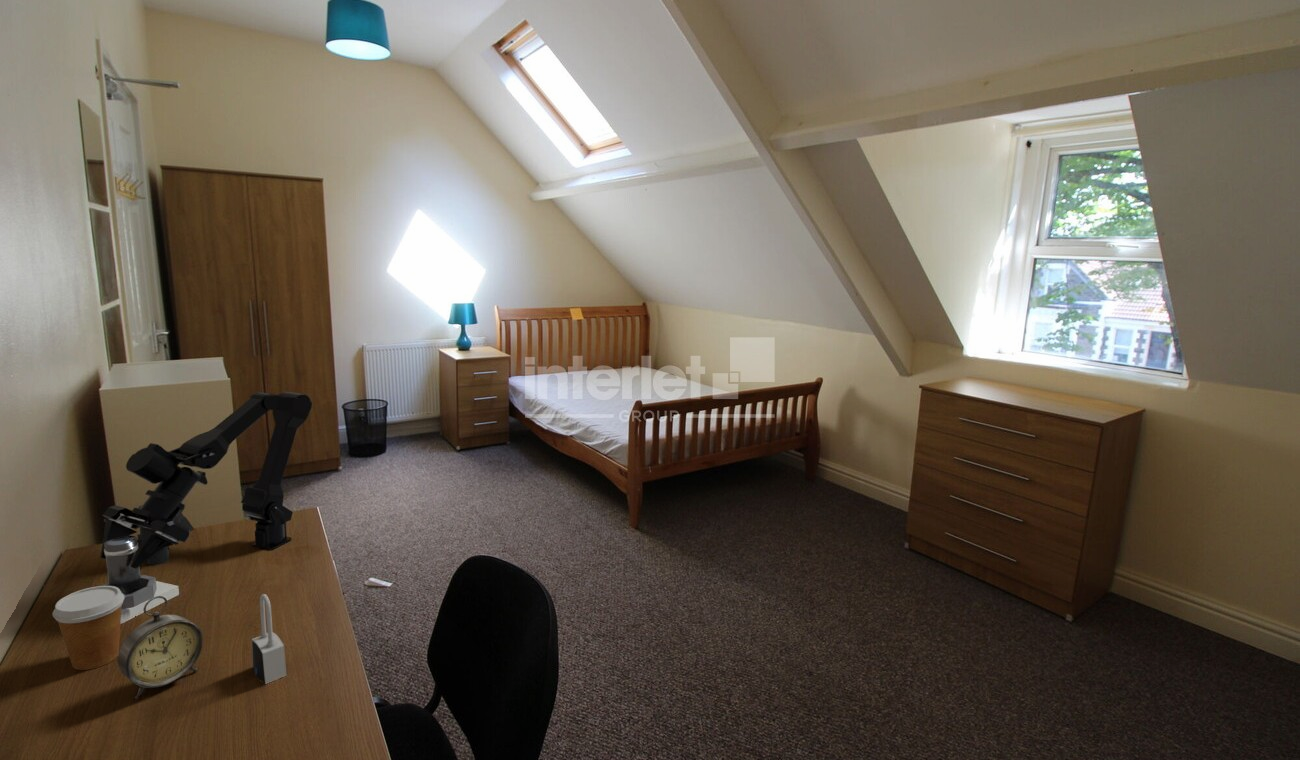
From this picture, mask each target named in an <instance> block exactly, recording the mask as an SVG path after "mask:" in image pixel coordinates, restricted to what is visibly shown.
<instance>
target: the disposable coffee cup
mask: <svg viewBox="0 0 1300 760" xmlns="http://www.w3.org/2000/svg"><path fill="white" fill-rule="evenodd" d="M124 599H125V597H124V594H123V593H121V591H120V589H119V588H117V587H114V586H101V585H99V586H91V587H87V588H83V589H80V590H76V591H74V592H72V593H70V594H68V595H66V596H64V597H62V598H60V599H59V600H58V601H57V602H56V603H55V606H54V610H52V617H53V618H54V619H55V620H56V622H57V623H58V626H59V630H60V633H61V635H62V638H63V642H64V645H65V648H66V651H67V654H68V657H69V660H70V663H71V666H72V668H73V669H74V670H77V671H78V670H79V671H86V670H87V671H88V670H92V669H95V668H100V667H102V666H105V665H107V664H109V663H111V662H112V661H114V660H115V659H116V658H118V654H119V651H120V639H121V625H122V624H121V607H122V603H123V601H124Z"/></svg>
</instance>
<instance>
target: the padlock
mask: <svg viewBox="0 0 1300 760" xmlns="http://www.w3.org/2000/svg"><path fill="white" fill-rule="evenodd" d="M271 605H272V604H271V602H270V599H269V597H268V595H267V594H265V593H262V594H261V595H260V597H259V610H260V613H259V615H260V627H261V633H260V636H257V637H253V638H251V655H252V656H251V657H252V661H251V662H252V669H253V671H254V675H255V678H256V677H257V678H256V679H258V680H259V681H260V680H261V681H263V682H262V684H264V683H265V684H267V683H269V682H272V681H274V680H277V679H279V678H281V677H284V676H287V668H286V667H287V665H286V656H285V655H286V654H285V645H284V643H283V642H282V640H281V639H280V637H279V636H278V635H277V634H276V633H275V632H273V620H272V619H273V618H272V606H271ZM266 623H267V624H266ZM284 678H285V677H284ZM261 681H260V682H261ZM277 681H278V680H277ZM272 683H273V682H272ZM265 684H264V685H265Z"/></svg>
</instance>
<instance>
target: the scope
mask: <svg viewBox="0 0 1300 760" xmlns="http://www.w3.org/2000/svg"><path fill="white" fill-rule="evenodd" d="M142 505H143V504H141V505H139V506H138V507H137V508H138V509H140V508H141V506H142ZM147 530H148V531H152V532H156V531H155V530H152V529H148V528H145V527H139V534H137V536H136V537H137V543H138V548H139V545H140V543H141V541H142V539H143V537H144V535H145V532H146V531H147ZM169 550H170V546H167V547H164V548H162V549H161V550H159V551H158V552H157V553H155V554H154V555H153V556H151V557H150V558H149V559H148V560H146V563H147V565H149V566H158V565H163V564H164V563H165V564H166V563H167V562H168V561H169V560H170V555H169Z"/></svg>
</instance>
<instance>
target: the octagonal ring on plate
mask: <svg viewBox="0 0 1300 760" xmlns="http://www.w3.org/2000/svg"><path fill="white" fill-rule="evenodd" d="M140 576H141V586H142V589H140V590H138V591H136V592H134V593H132V594H127V595H124V597H125V599H124V601H123V603H122V607H121V624H120V625H122V624H124V623H126V622H127V621H129V620H132V619H133V618H136V617H137V616H140V615H141V614H143V613H144V606H145V604H146V603H147V602H148V601H149V600H150V599H152V598H153V597H156V596H163V597H165V598H166V599H167V601H169V600H171V599H173V598H175V597H178V596H179V595H180V590H179V587H180V586H179V585H176V584H175V585H174V584H170V583H166V582H162V581H158V580H157V579H156V577H155V576H151V575H145V574H140ZM100 586H109V582H106V583H104V584H101V585H100ZM163 603H164V604H165V600H164V599H162V598H156V599H153V600H152V601H150V602H149V603H148V605H147V607H146V612H147V611H149V610H152V609H153V608H155V607H157V606H159V605H161V604H163ZM144 614H145V613H144ZM135 616H136V617H135Z"/></svg>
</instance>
